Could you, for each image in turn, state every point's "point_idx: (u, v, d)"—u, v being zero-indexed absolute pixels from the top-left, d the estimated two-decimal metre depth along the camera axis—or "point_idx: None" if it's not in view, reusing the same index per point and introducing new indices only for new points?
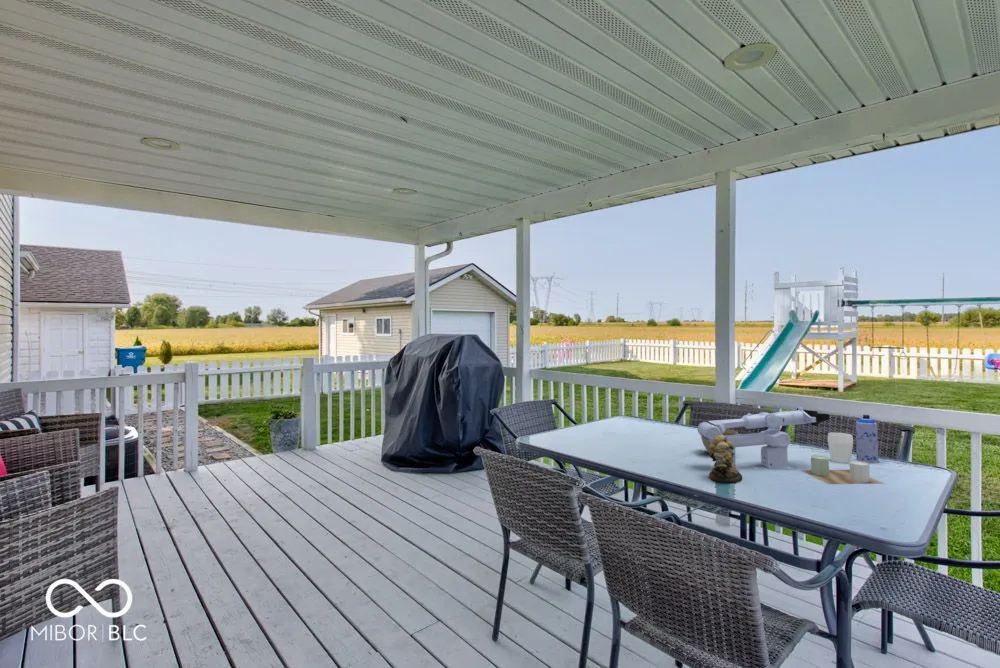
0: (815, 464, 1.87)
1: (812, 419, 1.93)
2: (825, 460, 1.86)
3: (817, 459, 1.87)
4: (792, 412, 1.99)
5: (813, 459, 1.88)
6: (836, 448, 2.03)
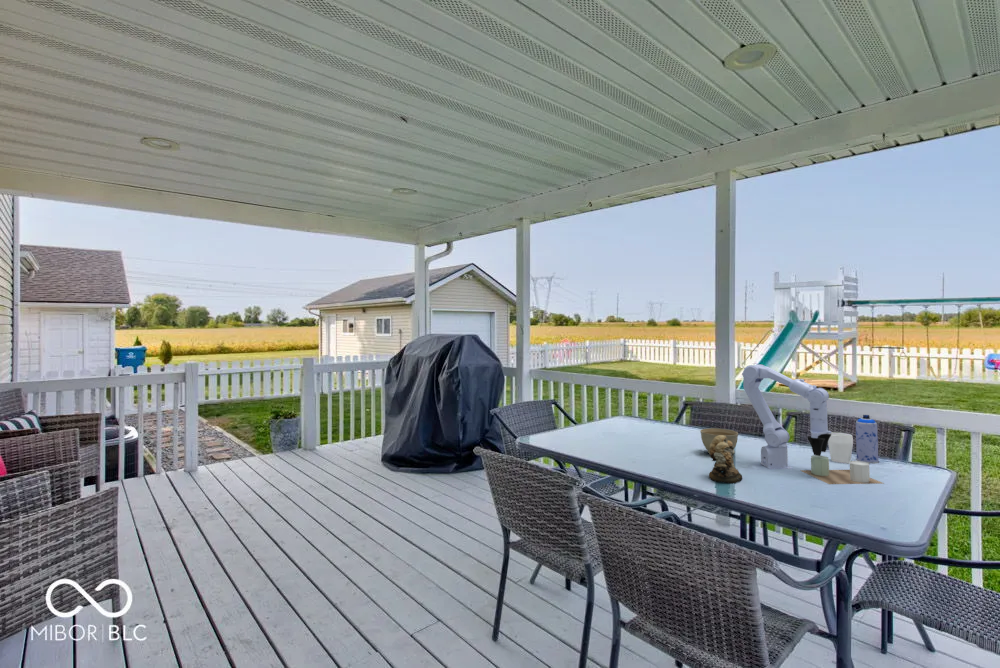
0: (815, 464, 1.87)
1: (814, 434, 1.83)
2: (825, 460, 1.86)
3: (817, 459, 1.87)
4: (825, 421, 1.86)
5: (813, 459, 1.88)
6: (836, 448, 2.03)
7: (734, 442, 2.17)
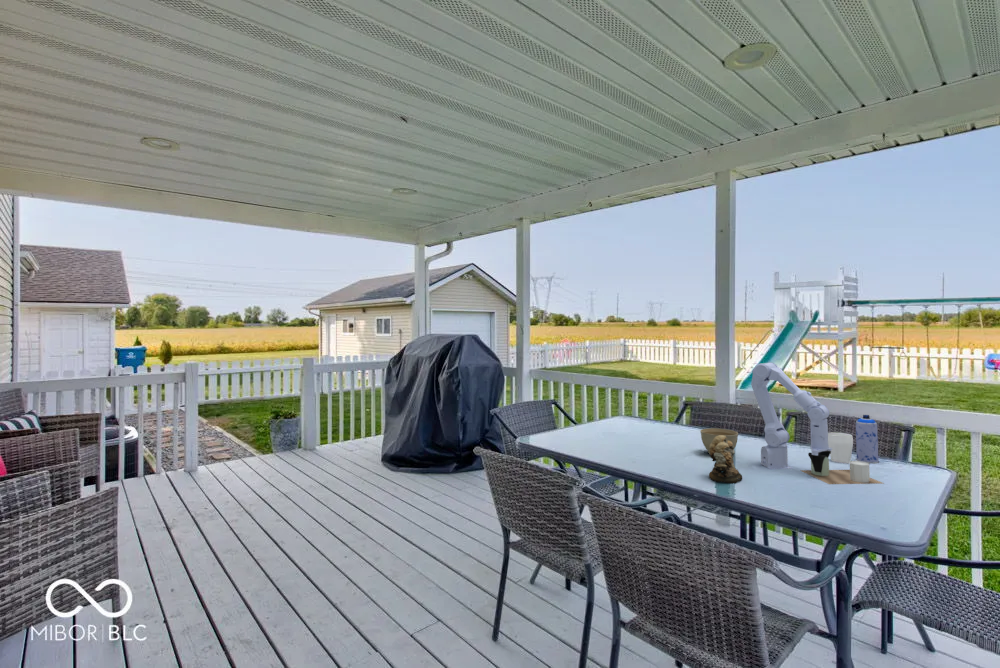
0: None
1: (815, 451, 1.83)
2: (825, 460, 1.86)
3: None
4: (825, 438, 1.86)
5: None
6: (836, 448, 2.03)
7: (734, 442, 2.17)
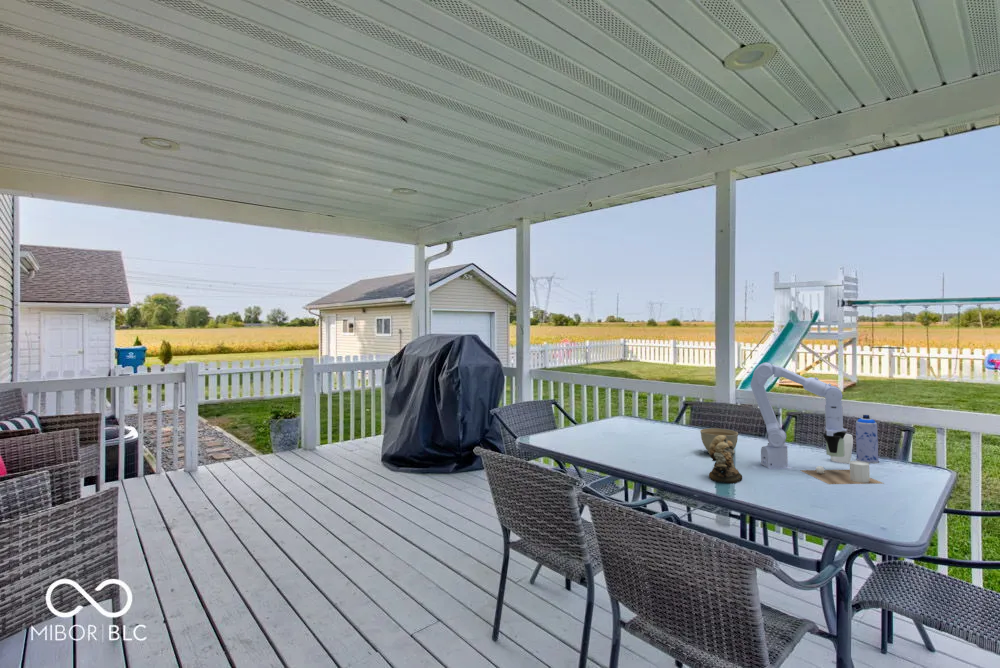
0: None
1: (830, 432, 1.85)
2: (840, 441, 1.87)
3: None
4: (840, 419, 1.87)
5: None
6: None
7: (734, 442, 2.17)
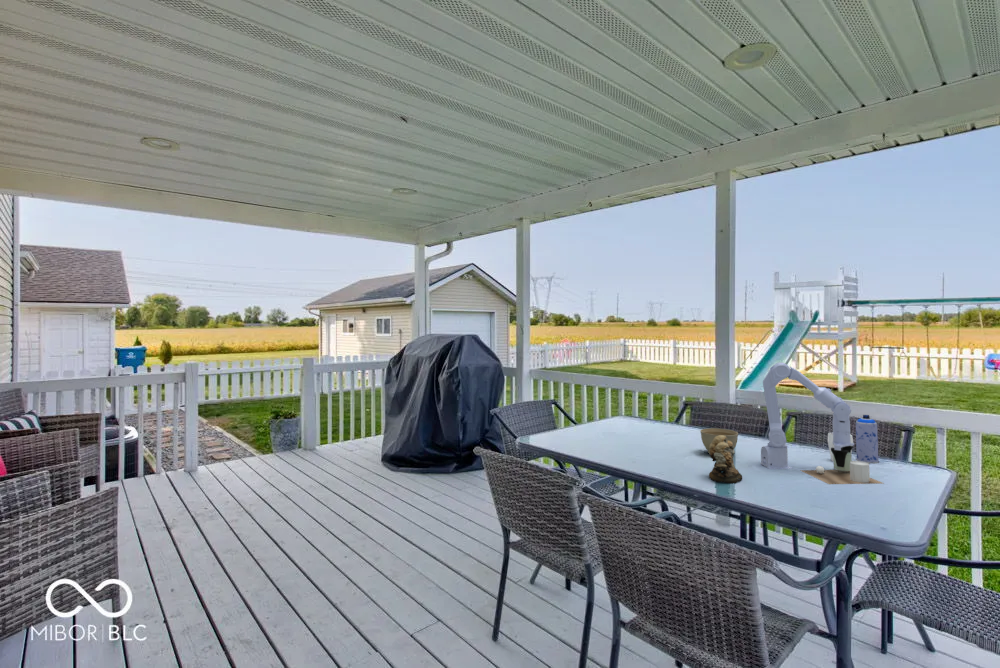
0: None
1: (838, 446, 1.85)
2: (848, 455, 1.87)
3: None
4: (848, 433, 1.88)
5: None
6: None
7: (734, 442, 2.17)
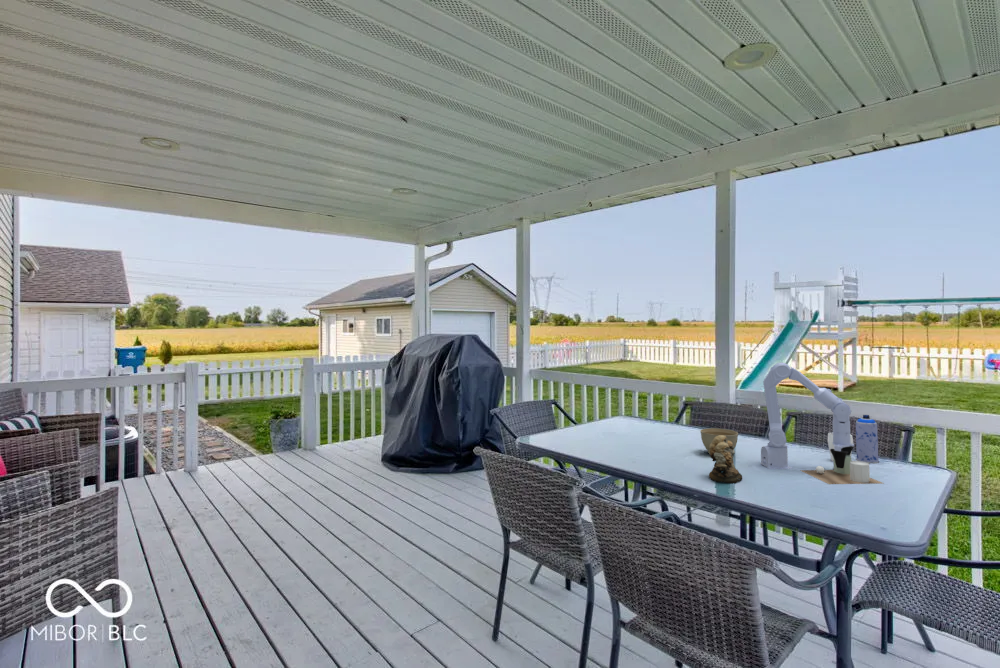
0: None
1: (838, 447, 1.85)
2: (848, 458, 1.87)
3: None
4: (848, 434, 1.88)
5: None
6: None
7: (734, 442, 2.17)
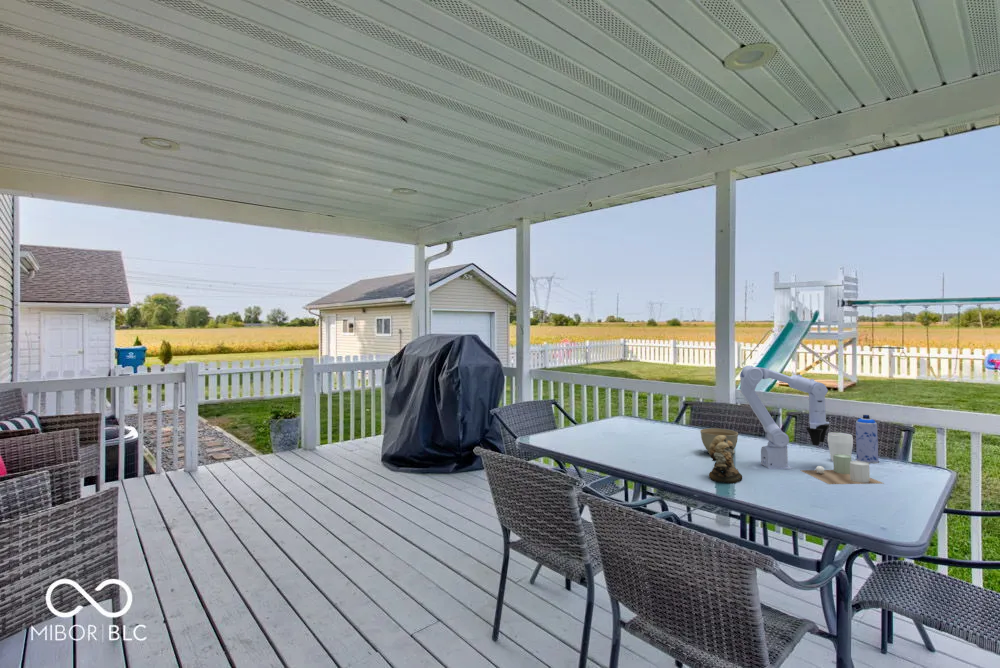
0: (838, 462, 1.89)
1: (813, 425, 1.92)
2: (848, 458, 1.87)
3: (840, 457, 1.88)
4: (823, 413, 1.95)
5: (836, 457, 1.90)
6: (836, 448, 2.03)
7: (734, 442, 2.17)
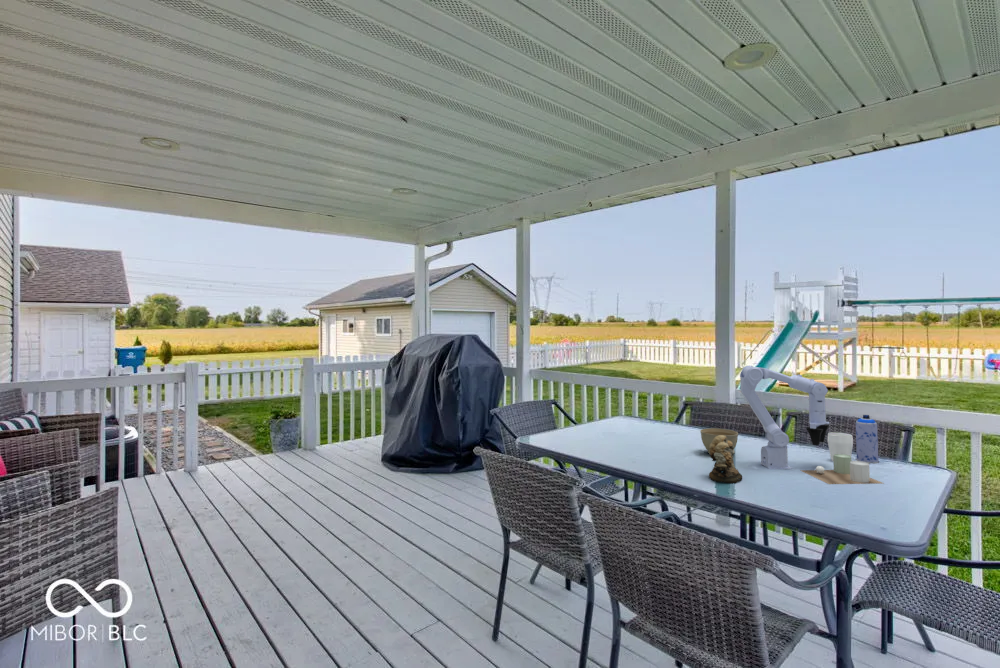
0: (838, 462, 1.89)
1: (813, 425, 1.92)
2: (848, 458, 1.87)
3: (840, 457, 1.88)
4: (823, 413, 1.95)
5: (836, 457, 1.90)
6: (836, 448, 2.03)
7: (734, 442, 2.17)
